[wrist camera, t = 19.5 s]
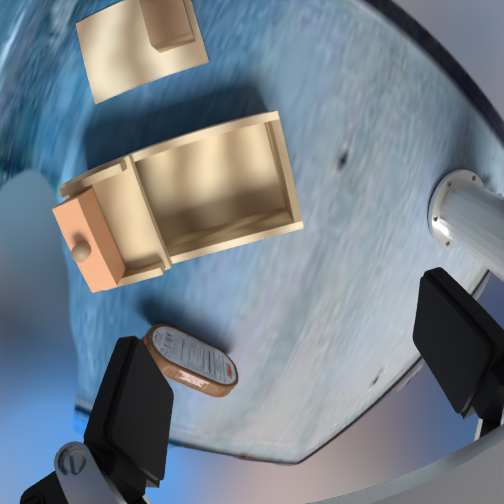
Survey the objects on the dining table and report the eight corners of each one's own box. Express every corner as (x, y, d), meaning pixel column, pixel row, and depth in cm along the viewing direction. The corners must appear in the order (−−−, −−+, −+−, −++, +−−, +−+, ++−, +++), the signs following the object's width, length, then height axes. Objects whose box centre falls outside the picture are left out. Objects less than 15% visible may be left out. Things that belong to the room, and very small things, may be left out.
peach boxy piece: (92, 187, 25) (71, 202, 21) (126, 267, 29) (113, 293, 25) (68, 197, 25) (45, 213, 21) (103, 274, 30) (88, 299, 25)
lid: (185, -18, 23) (179, -37, 18) (209, 63, 28) (206, 54, 23) (79, 25, 23) (58, 15, 18) (98, 104, 28) (78, 104, 24)
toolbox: (268, 111, 31) (282, 110, 23) (291, 209, 36) (310, 237, 28) (87, 170, 31) (54, 189, 24) (123, 257, 37) (102, 293, 29)
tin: (144, 324, 42) (133, 366, 34) (154, 311, 41) (143, 352, 33) (228, 365, 47) (230, 406, 39) (239, 354, 46) (243, 396, 38)
